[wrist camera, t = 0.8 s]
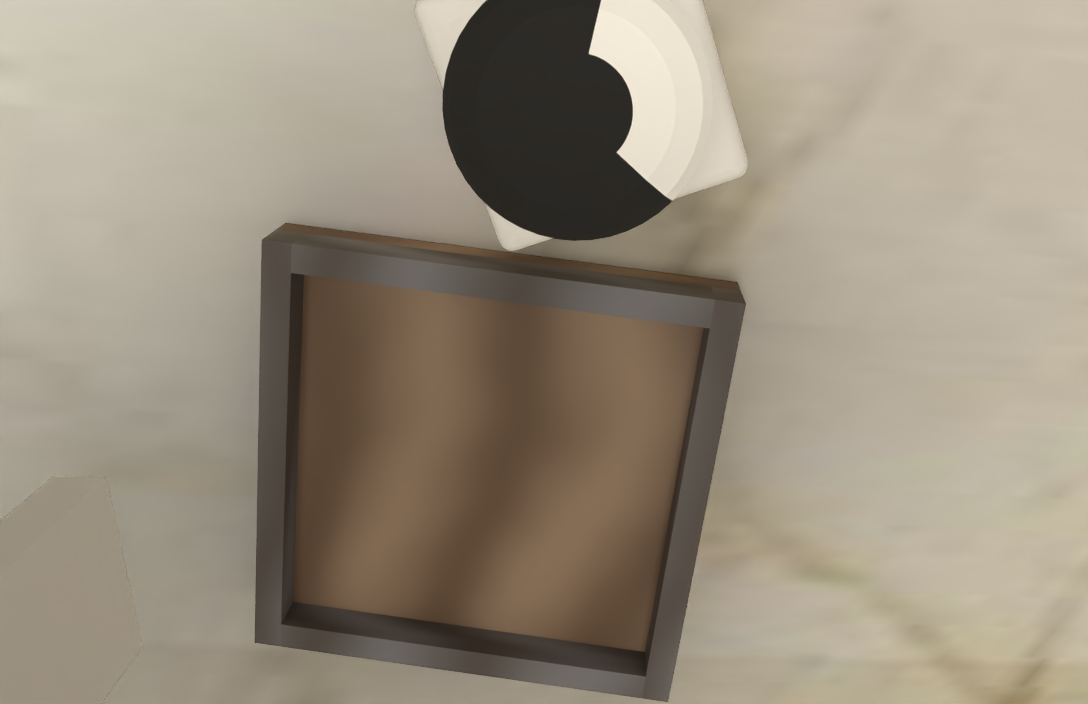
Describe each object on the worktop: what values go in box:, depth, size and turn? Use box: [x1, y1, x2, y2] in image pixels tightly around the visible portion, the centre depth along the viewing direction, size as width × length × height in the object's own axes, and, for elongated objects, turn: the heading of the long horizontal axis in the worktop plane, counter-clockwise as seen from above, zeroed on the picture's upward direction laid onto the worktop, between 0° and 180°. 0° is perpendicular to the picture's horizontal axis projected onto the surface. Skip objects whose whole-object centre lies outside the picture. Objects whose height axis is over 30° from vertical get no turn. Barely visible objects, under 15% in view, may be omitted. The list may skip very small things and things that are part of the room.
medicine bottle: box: [415, 0, 748, 251], centre depth 27 cm, size 7×7×12 cm
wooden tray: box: [255, 223, 746, 702], centre depth 37 cm, size 16×16×2 cm
